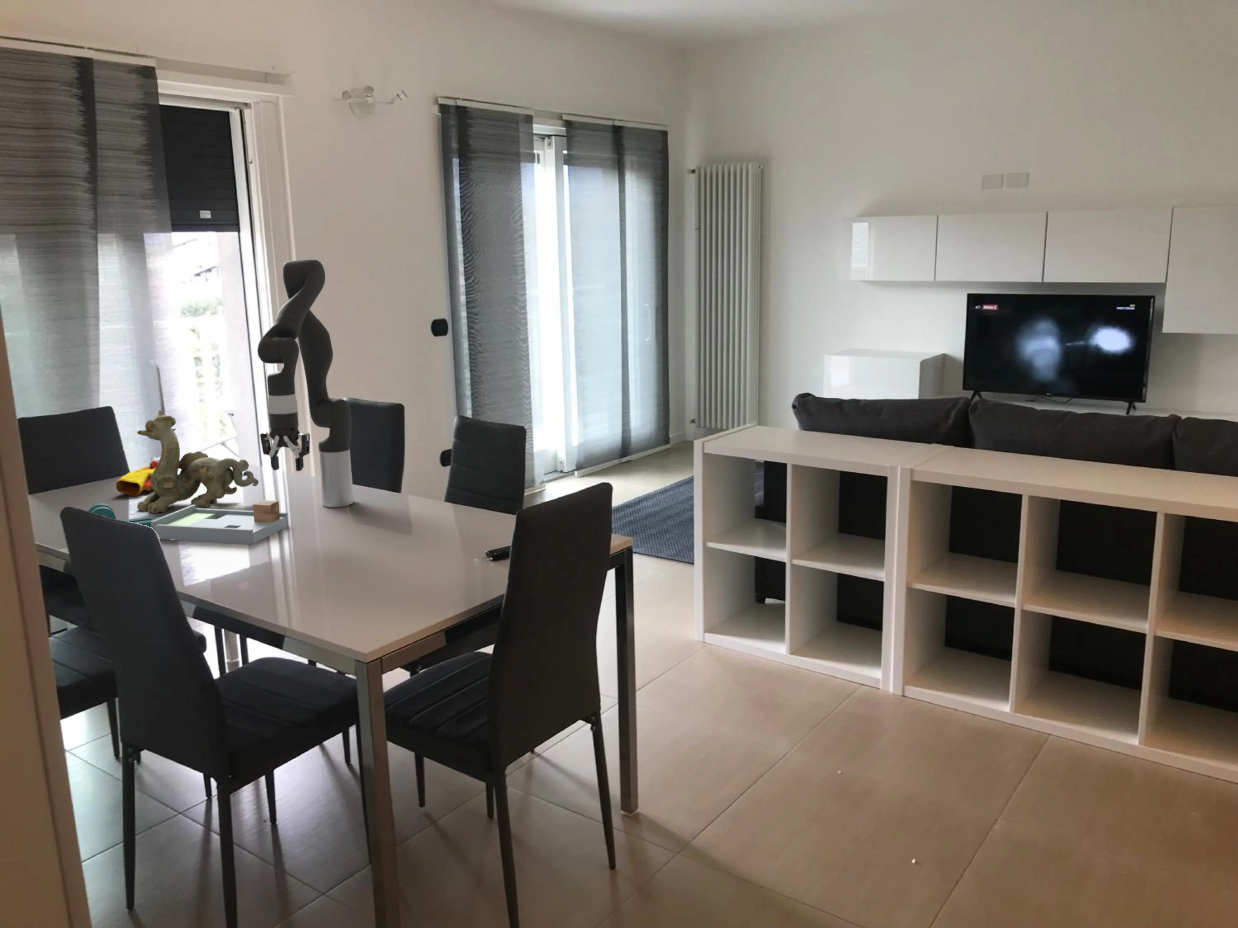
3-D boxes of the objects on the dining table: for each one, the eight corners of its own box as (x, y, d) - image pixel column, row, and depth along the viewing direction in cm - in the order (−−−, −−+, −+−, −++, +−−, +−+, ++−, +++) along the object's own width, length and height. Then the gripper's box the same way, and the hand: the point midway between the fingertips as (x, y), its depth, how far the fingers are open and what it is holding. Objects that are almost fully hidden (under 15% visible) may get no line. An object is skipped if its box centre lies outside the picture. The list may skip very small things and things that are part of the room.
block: (263, 517, 282) (262, 500, 281) (279, 517, 281) (278, 500, 280) (254, 521, 277) (252, 504, 276) (270, 522, 276) (269, 505, 275)
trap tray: (194, 521, 290) (192, 504, 289) (288, 526, 284) (287, 509, 283) (152, 539, 271) (150, 521, 270) (252, 544, 266) (250, 526, 265)
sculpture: (213, 487, 330) (220, 401, 321) (255, 517, 314) (264, 428, 305) (123, 499, 308) (128, 407, 299) (163, 531, 292) (169, 435, 283)
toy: (152, 475, 318) (190, 449, 347) (112, 475, 318) (154, 449, 347) (156, 501, 321) (194, 473, 349) (116, 501, 321) (158, 473, 349)
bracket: (90, 537, 274) (87, 510, 272) (88, 531, 280) (85, 504, 278) (161, 528, 283) (158, 501, 282) (158, 523, 289) (155, 496, 287)
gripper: (314, 409, 274) (318, 468, 277) (266, 408, 276) (271, 466, 280) (300, 413, 266) (304, 474, 270) (251, 412, 269) (256, 472, 273)
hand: (287, 469), depth 275 cm, fingers open, 6 cm apart
